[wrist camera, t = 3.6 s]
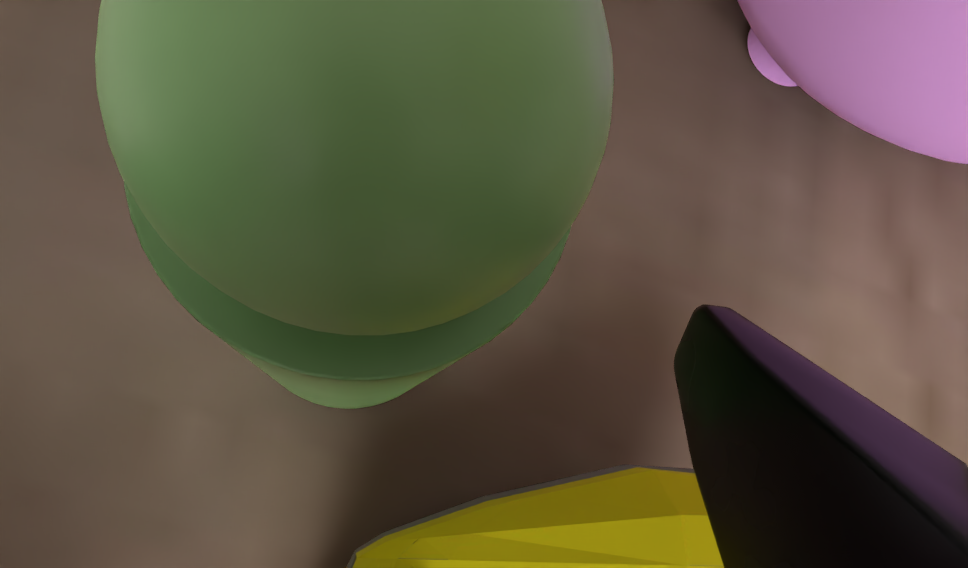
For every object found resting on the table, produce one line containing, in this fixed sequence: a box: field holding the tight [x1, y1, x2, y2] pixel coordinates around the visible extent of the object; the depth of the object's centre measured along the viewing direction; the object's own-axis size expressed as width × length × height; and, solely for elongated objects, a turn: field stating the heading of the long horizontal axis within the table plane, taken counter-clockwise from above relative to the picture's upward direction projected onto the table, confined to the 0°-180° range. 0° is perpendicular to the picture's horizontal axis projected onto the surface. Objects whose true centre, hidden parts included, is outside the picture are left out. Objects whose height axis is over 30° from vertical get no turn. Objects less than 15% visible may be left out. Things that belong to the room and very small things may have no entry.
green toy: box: [95, 0, 614, 409], centre depth 11 cm, size 5×5×14 cm
